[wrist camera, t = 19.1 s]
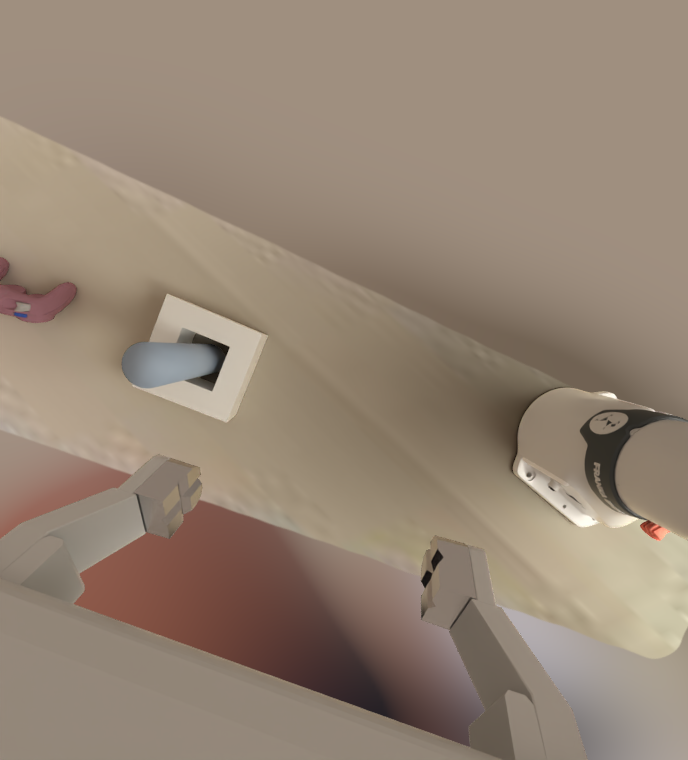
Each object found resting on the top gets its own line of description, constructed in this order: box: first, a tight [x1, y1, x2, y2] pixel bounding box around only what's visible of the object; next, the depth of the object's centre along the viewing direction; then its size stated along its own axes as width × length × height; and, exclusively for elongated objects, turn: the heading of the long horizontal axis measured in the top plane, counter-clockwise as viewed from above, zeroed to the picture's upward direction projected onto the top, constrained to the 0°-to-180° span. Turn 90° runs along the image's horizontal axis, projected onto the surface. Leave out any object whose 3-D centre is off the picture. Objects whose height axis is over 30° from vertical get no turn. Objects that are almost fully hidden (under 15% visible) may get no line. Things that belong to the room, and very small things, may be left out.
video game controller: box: [0, 257, 77, 323], centre depth 38 cm, size 10×5×7 cm, turn 70°
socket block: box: [132, 294, 268, 423], centre depth 41 cm, size 12×12×4 cm
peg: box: [122, 342, 225, 388], centre depth 35 cm, size 4×4×16 cm
